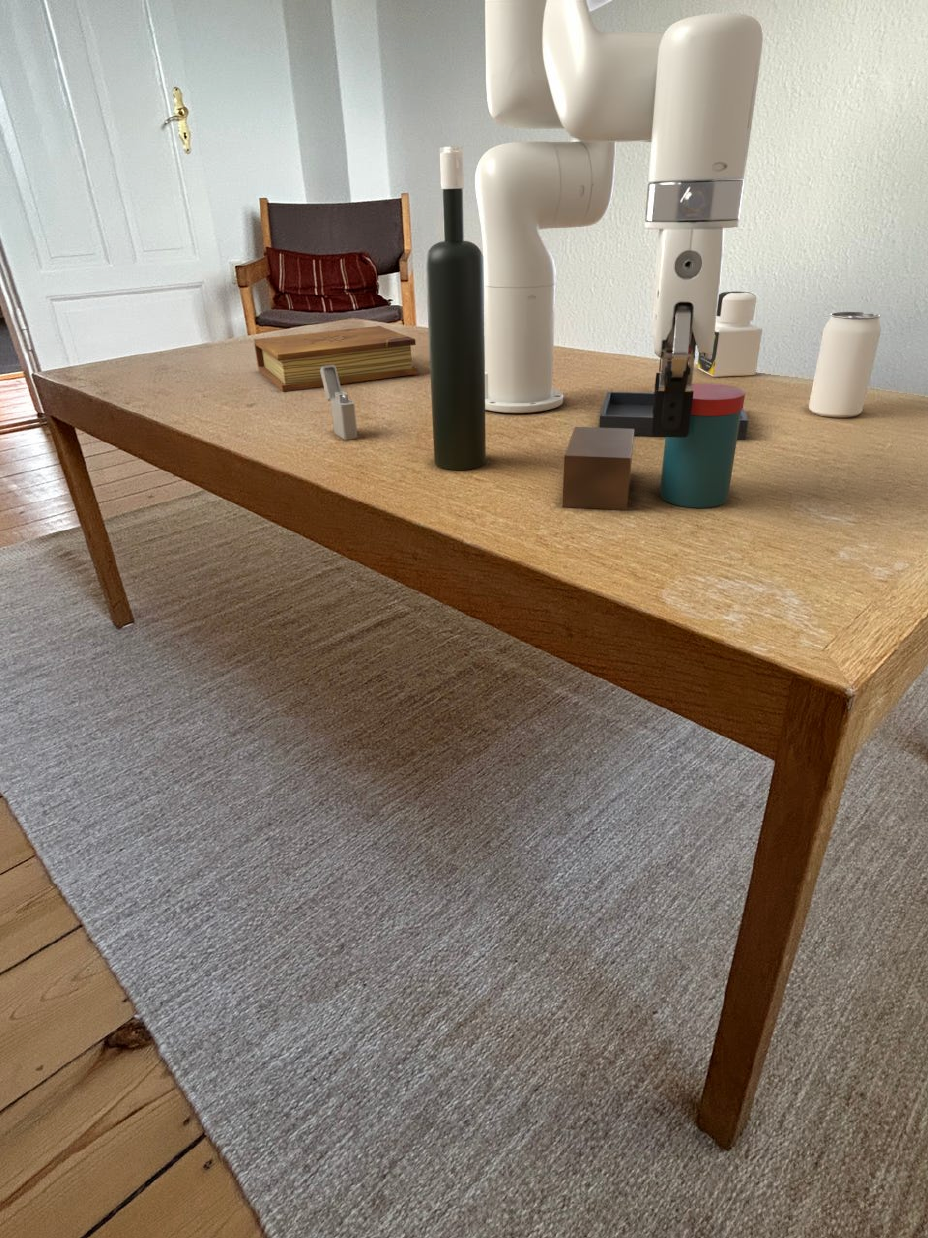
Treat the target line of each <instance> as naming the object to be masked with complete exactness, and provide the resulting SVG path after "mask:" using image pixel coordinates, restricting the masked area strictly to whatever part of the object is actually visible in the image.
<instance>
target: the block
mask: <svg viewBox="0 0 928 1238" xmlns="http://www.w3.org/2000/svg"><path fill="white" fill-rule="evenodd" d="M634 440H635V436H634V429H625V428H599V427H592V426H591V427H590V426H574V429H573V430H572V434H571V436H570V439H569V442H568V445H567V447H566V450H565V453H564V456H563V475H562V476H563V477H562V478H563V480H562V500H561V501H562V502H561V503H562V504H561V505H562V507H563V508H577V509H578V508H581V509H595V510H596V509H597V510H616V511H627V508H628V502H629V501H628V500H629V492H630V483H631V475H632V463H633V452H634V451H633V450H634Z"/></svg>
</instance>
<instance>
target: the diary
mask: <svg viewBox="0 0 928 1238" xmlns="http://www.w3.org/2000/svg"><path fill="white" fill-rule="evenodd" d="M416 344H417V343H416V338H413V337H411V336H408V335H405V334H403V333H400V332H397V331H394V330H391V329H389V328H386V327H384V326H381V325H376V326H375V325H374V326H366V327H355V328H348V329H337V330H329V331H327V330H326V331H321V332H320V331H319V332H310V333H309V332H307V333H299V334H290V335H279V336H271V337H261V338H253V345H254V351H255V356H256V362H257V368H258V371H259V373H260V374H261V375H262V376H264V377H265V378H266V379H267V380H268V381H269V382H271V383H272V384H273V385H275V386H276V387H277V388H278V389H279V390H280V391H282V392H290V391H299V390H304V389H312V388H321V387H324V385H323V381H322V377H321V373H320V370H321V368H322V367H323V366H326V365H335V366H336V370H337V374H338V378H339V382H340V385H342V384H350V383H358V382H364V381H365V382H366V381H374V380H380V379H381V380H382V379H388V378H396V377H403V376H412V375H418V374H419V373H418V368H417V367H415V366H414V365H413V362H412V347H411V346H416Z"/></svg>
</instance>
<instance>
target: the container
mask: <svg viewBox="0 0 928 1238" xmlns="http://www.w3.org/2000/svg"><path fill="white" fill-rule="evenodd" d="M691 391H694V393H693V401H692V410H691V418H690V426H689V434H688V436H687V437H685V438H677V437H664V438H665V439H664V445H663V446H664V449H663V455H662V456H663V457H662V466H661V475H660V484H659V497H660V498H661V499H662V500H663V501H665V502H667V503H669V504H672V505H675V506H680V507H683V508H684V507H685V508H693V509H695V508H696V509H704V508H705V509H706V508H715V507H718V506H719V507H720V506H721V505H724V504H726V502H727V501H728V499H729V494H730V487H731V481H732V475H733V469H734V461H735V455H736V448H737V443H738V439H737V436H738V430H739V423H740V417H741V410H742V409H743V408H744V405H745V398H746V392H745V390H743V389H742V388H739V387H736V386H731V385H727V384H726V385H725V384H719V383H692V390H691Z"/></svg>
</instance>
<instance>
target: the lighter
mask: <svg viewBox="0 0 928 1238" xmlns="http://www.w3.org/2000/svg"><path fill="white" fill-rule="evenodd" d="M320 373H321V377H322V381H323V385H324V386H323V388H324V393H325V397H326V401H328V402H330V406H331V407H330V408H331V415H332V423H333V433H334V434H335V435H337V436H338V437H340V438H341V439H343V440H344V441H349V440H355V439H358V437H359V436H358V428H357V418H356V407H355V402H353V401H351V400H350V399H349V393H347V392H345V391H344V390H342V386H341V384H340V382H339V378H338V374H337V370H336V366H335V365H326V366H323V367H322V368H321V370H320Z"/></svg>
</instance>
